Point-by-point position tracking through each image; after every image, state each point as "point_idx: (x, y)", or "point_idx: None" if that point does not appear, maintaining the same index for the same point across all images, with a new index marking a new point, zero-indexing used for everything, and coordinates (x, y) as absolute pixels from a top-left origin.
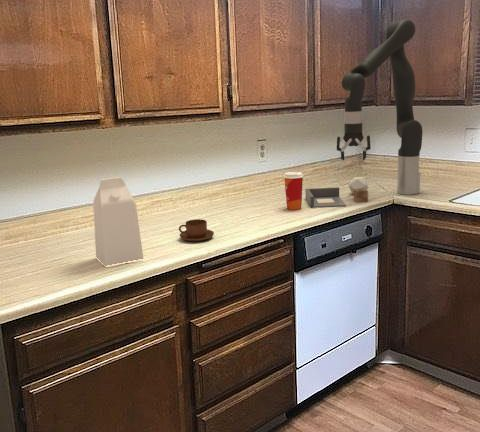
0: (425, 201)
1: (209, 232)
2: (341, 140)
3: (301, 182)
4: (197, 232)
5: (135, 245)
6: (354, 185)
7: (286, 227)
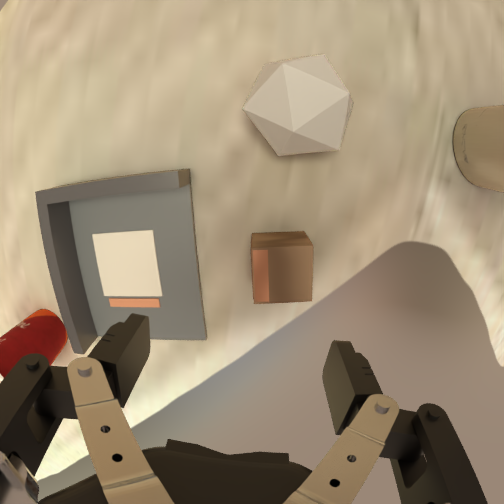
0: (477, 292)
1: None
2: (35, 491)
3: None
4: None
5: None
6: (273, 137)
7: (87, 453)
